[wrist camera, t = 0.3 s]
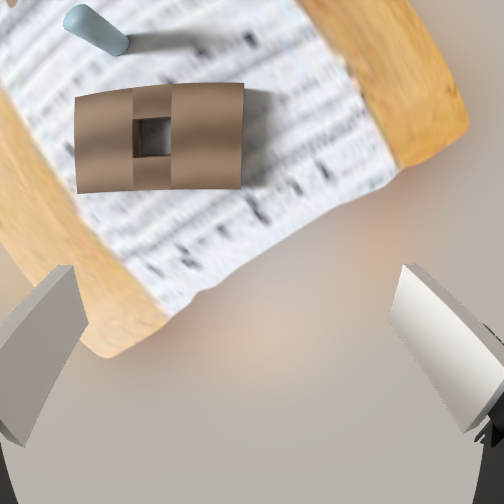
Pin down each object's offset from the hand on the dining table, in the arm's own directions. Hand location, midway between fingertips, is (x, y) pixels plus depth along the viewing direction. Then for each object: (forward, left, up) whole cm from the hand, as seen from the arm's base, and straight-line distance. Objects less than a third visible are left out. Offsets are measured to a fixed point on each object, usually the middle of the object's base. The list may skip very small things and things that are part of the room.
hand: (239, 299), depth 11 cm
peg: (-19, -15, -27) cm, 36 cm away
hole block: (-6, -9, -27) cm, 29 cm away
